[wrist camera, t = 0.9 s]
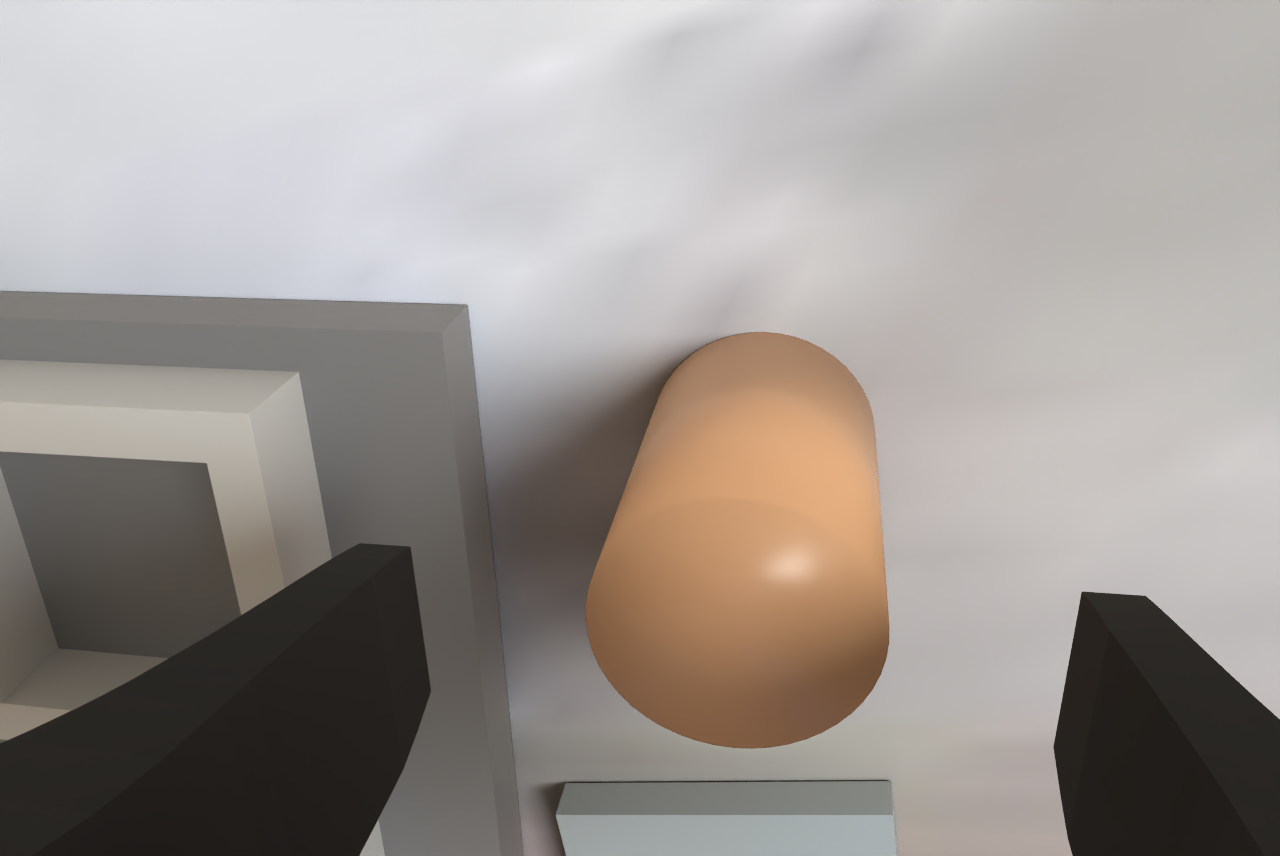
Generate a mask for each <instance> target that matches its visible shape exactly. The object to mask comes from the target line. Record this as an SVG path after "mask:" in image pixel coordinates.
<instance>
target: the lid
mask: <svg viewBox="0 0 1280 856" xmlns="http://www.w3.org/2000/svg"><path fill="white" fill-rule="evenodd" d="M556 818H557V822H558V826H559V830H560V834H561V838H562V841H563V845H564V849H565V853H566V856H898V854H897V843H896V832H895V821H894V809H893V798H892V787H891V781H828V782H673V783H565V787H564V790H563V793H562V796H561V799H560V803H559V806H558V809H557V812H556Z"/></svg>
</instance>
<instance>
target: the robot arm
mask: <svg viewBox="0 0 1280 856" xmlns="http://www.w3.org/2000/svg"><path fill="white" fill-rule="evenodd" d="M430 693H431V686H430V679H429V672H428V665H427V658H426V651H425V644H424V637H423V630H422V623H421V616H420V609H419V602H418V595H417V588H416V581H415V574H414V567H413V560H412V553H411V547H410V546H395V545H381V544H366V543H359V544H357V545H355V546H353V547H352V548H350V549H348V550H346V551H344V552H342V553H341V554H339V555H337V556H335V557H334V558H332V559H330V560H329V561H327V562H325V563H324V564H322V565H320V566H319V567H317V568H316V569H314V570H312V571H311V572H309V573H308V574H306V575H304V576H303V577H301V578H300V579H298V580H296V581H295V582H293V583H292V584H290V585H289V586H287V587H285V588H284V589H282V590H281V591H279V592H278V593H276V594H274V595H273V596H271V597H270V598H268V599H266V600H265V601H263V602H262V603H260V604H258V605H257V606H255V607H254V608H252V609H250V610H249V611H247V612H246V613H244V614H242V615H241V616H239V617H238V618H236V619H234V620H233V621H231V622H230V623H228V624H226V625H225V626H223V627H222V628H220V629H218V630H217V631H215V632H213V633H212V634H210V635H208V636H207V637H205V638H203V639H202V640H200V641H198V642H196V643H195V644H193V645H191V646H189V647H188V648H186V649H184V650H182V651H181V652H179V653H177V654H175V655H174V656H172V657H170V658H168V659H167V660H165V661H163V662H161V663H160V664H158V665H156V666H154V667H153V668H151V669H149V670H147V671H146V672H144V673H142V674H141V675H139V676H137V677H135V678H134V679H132V680H130V681H128V682H126V683H125V684H123V685H121V686H119V687H117V688H115V689H113V690H111V691H109V692H108V693H106V694H104V695H102V696H100V697H98V698H96V699H94V700H92V701H90V702H88V703H86V704H84V705H82V706H80V707H78V708H76V709H74V710H72V711H69V712H67V713H65V714H63V715H61V716H59V717H57V718H55V719H53V720H50V721H48V722H46V723H44V724H42V725H40V726H38V727H36V728H34V729H32V730H29V731H27V732H25V733H23V734H20V735H18V736H16V737H14V738H12V739H9V740H7V741H5V742H2V743H0V856H360V854H361V852H362V850H363V848H364V846H365V844H366V842H367V840H368V838H369V836H370V835H371V833H372V831H373V829H374V827H375V825H376V823H377V821H378V819H379V817H380V815H381V813H382V811H383V809H384V807H385V805H386V803H387V801H388V799H389V797H390V795H391V794H392V792H393V790H394V788H395V786H396V784H397V782H398V779H399V777H400V775H401V773H402V771H403V769H404V767H405V764H406V761H407V759H408V756H409V753H410V751H411V748H412V745H413V743H414V740H415V737H416V735H417V732H418V729H419V726H420V723H421V720H422V717H423V714H424V711H425V708H426V705H427V702H428V699H429V696H430ZM1054 753H1055V760H1056V767H1057V773H1058V780H1059V787H1060V794H1061V800H1062V806H1063V812H1064V818H1065V824H1066V830H1067V836H1068V840H1069V844H1070V847H1071V851H1072V854H1073V856H1280V719H1278V718H1277V717H1276V716H1275V715H1274V714H1273V713H1272V712H1271V711H1270V710H1268V709H1267V708H1266V707H1265V706H1264V705H1263V704H1262V703H1261V702H1259V701H1258V700H1257V699H1256V698H1255V697H1254V696H1253V695H1252V694H1251V693H1250V692H1248V691H1247V690H1246V689H1245V688H1244V687H1243V686H1242V685H1241V684H1240V683H1239V682H1238V681H1237V680H1235V679H1234V678H1233V677H1232V676H1231V675H1230V674H1229V673H1228V672H1227V671H1226V670H1225V669H1224V668H1223V667H1222V666H1220V665H1219V664H1218V663H1217V662H1216V661H1215V660H1214V659H1213V658H1212V657H1211V656H1210V655H1209V654H1208V653H1207V652H1206V651H1204V650H1203V649H1202V648H1201V647H1200V646H1199V645H1198V644H1197V643H1196V642H1195V641H1194V640H1193V639H1192V638H1191V637H1190V636H1189V635H1188V634H1187V633H1185V632H1184V631H1183V630H1182V629H1181V628H1180V627H1179V626H1178V625H1177V624H1176V623H1175V622H1174V621H1173V620H1172V619H1171V618H1170V617H1169V616H1167V615H1166V614H1165V613H1164V612H1163V611H1162V610H1161V609H1160V608H1159V607H1158V606H1156V605H1155V604H1154V603H1153V602H1152V601H1151V600H1150V599H1149V598H1147V597H1146V596H1139V595H1124V594H1109V593H1094V592H1082V594H1081V600H1080V605H1079V611H1078V616H1077V621H1076V627H1075V632H1074V638H1073V643H1072V649H1071V654H1070V660H1069V665H1068V671H1067V676H1066V682H1065V687H1064V693H1063V698H1062V704H1061V709H1060V715H1059V720H1058V726H1057V731H1056V737H1055V742H1054Z"/></svg>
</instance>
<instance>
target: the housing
mask: <svg viewBox="0 0 1280 856" xmlns="http://www.w3.org/2000/svg"><path fill="white" fill-rule="evenodd" d="M359 543H366V544H381V545H395V546H410V547H411V553H412V560H413V567H414V574H415V581H416V588H417V595H418V602H419V609H420V616H421V623H422V630H423V637H424V644H425V651H426V658H427V665H428V672H429V679H430V686H431V693H430V696H429V699H428V702H427V705H426V708H425V711H424V714H423V717H422V720H421V723H420V726H419V729H418V732H417V735H416V737H415V740H414V743H413V745H412V748H411V751H410V753H409V756H408V759H407V761H406V764H405V767H404V769H403V771H402V773H401V775H400V777H399V779H398V782H397V784H396V786H395V788H394V790H393V792H392V794H391V795H390V797H389V799H388V801H387V803H386V805H385V807H384V809H383V811H382V813H381V815H380V817H379V819H378V821H377V823H376V825H375V827H374V829H373V831H372V833H371V835H370V836H369V838H368V840H367V842H366V844H365V846H364V848H363V850H362V852H361V854H360V856H524V854H523V844H522V834H521V824H520V815H519V805H518V795H517V785H516V775H515V765H514V755H513V746H512V736H511V726H510V716H509V706H508V696H507V687H506V677H505V667H504V657H503V647H502V637H501V627H500V618H499V608H498V598H497V588H496V578H495V568H494V558H493V549H492V539H491V529H490V519H489V509H488V499H487V490H486V480H485V470H484V460H483V450H482V440H481V430H480V421H479V411H478V401H477V391H476V381H475V371H474V362H473V352H472V342H471V332H470V322H469V312H468V305H451V304H418V303H384V302H350V301H316V300H282V299H248V298H214V297H180V296H146V295H112V294H78V293H44V292H10V291H0V743H2V742H5V741H7V740H9V739H12V738H14V737H16V736H18V735H20V734H23V733H25V732H27V731H29V730H32V729H34V728H36V727H38V726H40V725H42V724H44V723H46V722H48V721H50V720H53V719H55V718H57V717H59V716H61V715H63V714H65V713H67V712H69V711H72V710H74V709H76V708H78V707H80V706H82V705H84V704H86V703H88V702H90V701H92V700H94V699H96V698H98V697H100V696H102V695H104V694H106V693H108V692H109V691H111V690H113V689H115V688H117V687H119V686H121V685H123V684H125V683H126V682H128V681H130V680H132V679H134V678H135V677H137V676H139V675H141V674H142V673H144V672H146V671H147V670H149V669H151V668H153V667H154V666H156V665H158V664H160V663H161V662H163V661H165V660H167V659H168V658H170V657H172V656H174V655H175V654H177V653H179V652H181V651H182V650H184V649H186V648H188V647H189V646H191V645H193V644H195V643H196V642H198V641H200V640H202V639H203V638H205V637H207V636H208V635H210V634H212V633H213V632H215V631H217V630H218V629H220V628H222V627H223V626H225V625H226V624H228V623H230V622H231V621H233V620H234V619H236V618H238V617H239V616H241V615H242V614H244V613H246V612H247V611H249V610H250V609H252V608H254V607H255V606H257V605H258V604H260V603H262V602H263V601H265V600H266V599H268V598H270V597H271V596H273V595H274V594H276V593H278V592H279V591H281V590H282V589H284V588H285V587H287V586H289V585H290V584H292V583H293V582H295V581H296V580H298V579H300V578H301V577H303V576H304V575H306V574H308V573H309V572H311V571H312V570H314V569H316V568H317V567H319V566H320V565H322V564H324V563H325V562H327V561H329V560H330V559H332V558H334V557H335V556H337V555H339V554H341V553H342V552H344V551H346V550H348V549H350V548H352V547H353V546H355V545H357V544H359Z"/></svg>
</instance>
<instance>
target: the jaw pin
mask: <svg viewBox="0 0 1280 856" xmlns="http://www.w3.org/2000/svg"><path fill="white" fill-rule="evenodd" d="M586 625H587V632H588V637H589V641H590V644H591V647H592V651H593V653H594V655H595V657H596V660H597V662H598V664H599V666H600V668H601V669H602V671H603V673H604V674H605V676H606V677H607V679H608V680H609V682H610V683H611V684H612V685H613V687H614V688H615V689H616V690H617V692H618V693H619V694H620V695H621V696H622V697H623V698H624V699H625V700H626V701H627V702H628V703H629V704H630V705H631V706H633V707H634V708H635V709H637V710H638V711H639V712H641V713H642V714H643V715H644V716H646V717H647V718H649V719H651V720H652V721H654V722H655V723H657V724H659V725H660V726H662V727H664V728H666V729H668V730H671V731H673V732H675V733H677V734H679V735H682V736H685V737H688V738H690V739H693V740H696V741H700V742H704V743H708V744H712V745H718V746H725V747H732V748H767V747H775V746H781V745H787V744H791V743H794V742H798V741H802V740H805V739H808V738H810V737H812V736H815V735H817V734H820V733H822V732H824V731H826V730H827V729H829V728H831V727H833V726H835V725H836V724H838V723H839V722H841V721H842V720H843V719H845V718H846V717H847V716H849V715H850V714H851V713H852V712H853V711H854V710H855V709H856V708H857V707H858V706H859V705H860V704H861V703H862V702H863V701H864V700H865V699H866V697H867V696H868V695H869V693H870V692H871V691H872V689H873V688H874V686H875V684H876V682H877V680H878V678H879V677H880V675H881V672H882V669H883V666H884V664H885V661H886V657H887V651H888V645H889V616H888V603H887V589H886V575H885V561H884V548H883V534H882V520H881V506H880V492H879V479H878V465H877V451H876V437H875V426H874V419H873V414H872V410H871V407H870V404H869V401H868V399H867V397H866V395H865V393H864V390H863V389H862V387H861V386H860V384H859V382H858V381H857V379H856V378H855V377H854V376H853V374H852V373H851V372H850V371H849V370H848V369H847V367H846V366H844V365H843V364H842V363H841V362H840V361H839V360H838V359H836V358H835V357H834V356H833V355H831V354H830V353H828V352H827V351H825V350H824V349H822V348H820V347H818V346H816V345H814V344H812V343H810V342H808V341H805V340H802V339H799V338H796V337H793V336H788V335H784V334H778V333H768V332H754V333H744V334H737V335H733V336H729V337H726V338H722V339H719V340H717V341H714V342H712V343H710V344H707V345H706V346H704V347H702V348H701V349H699V350H697V351H695V352H694V353H693V354H691V355H690V356H689V357H688V358H686V359H685V360H684V361H683V362H682V363H681V364H680V365H679V366H678V367H677V368H676V369H675V370H674V371H673V373H672V374H671V376H670V377H669V378H668V380H667V381H666V383H665V385H664V387H663V389H662V391H661V393H660V395H659V398H658V400H657V403H656V406H655V409H654V411H653V414H652V417H651V419H650V422H649V425H648V427H647V430H646V433H645V436H644V438H643V441H642V444H641V446H640V449H639V452H638V455H637V457H636V460H635V463H634V465H633V468H632V471H631V473H630V476H629V479H628V482H627V484H626V487H625V490H624V492H623V495H622V498H621V500H620V503H619V506H618V509H617V511H616V514H615V517H614V519H613V522H612V525H611V528H610V530H609V533H608V536H607V538H606V541H605V544H604V546H603V549H602V552H601V555H600V557H599V560H598V563H597V565H596V568H595V571H594V574H593V577H592V579H591V582H590V585H589V589H588V594H587V600H586Z"/></svg>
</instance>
